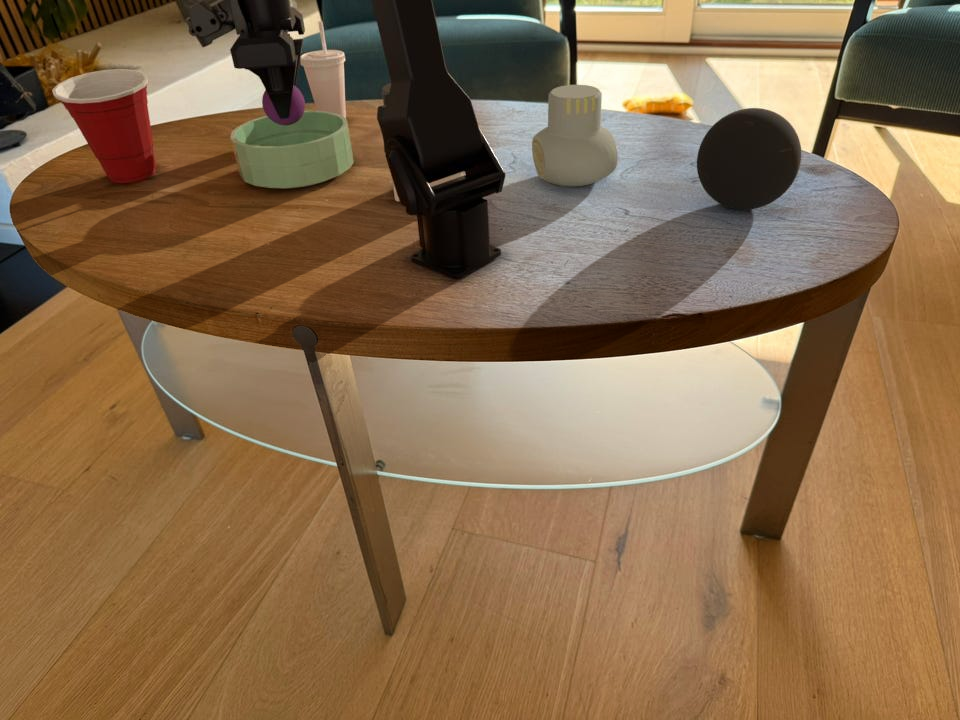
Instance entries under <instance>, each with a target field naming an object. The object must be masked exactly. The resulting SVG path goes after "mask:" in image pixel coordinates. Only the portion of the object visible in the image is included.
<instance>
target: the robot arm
mask: <svg viewBox="0 0 960 720" xmlns="http://www.w3.org/2000/svg"><path fill="white" fill-rule="evenodd" d="M290 1H291V0H216V1H214V2H211V3H210V4H209V3H207V1H205V0H200V1H199V2H196V3H195V4H192V5H190V6H189V7H188V8H187V9H188V17H187V18H186V19H185V23H186V24H187V26H188V33H189V35H190V36H192V37H195V38H196V40H197V42H198V43H199V45H200V46H201V47H202V48H205V47H208V46H209V45H212V44H213V42H214V41H215V40H217V39H218V38H220V37H223V36H224V35H226V34H229V33H230V32H232V31H234V30H235V33H236V35H237V39H236V40H235V41H234V42H233V44H232V46H231V47H230V49H229V51H230V55H231V59H232V64H233V68H234V69H237V70H240V69H244V70H245V71H247V70H248V71H249V72H251V73H253V74H254V75H256V76H257V77H258V78H259V80H260V81H261V83H262V85H263V87H264V89H265V90H266V91H267V93H268V95H269V97H270V100H271V102H272V104H273V106H274V108H275V110H276V112H277V114H278V116H279V118H280V119H286V118H289V114H290V107H291V101H292V94H293V87H294V86H296V87H297V82H298V74H299V70H300V65H301V61H300V58H301V56H302V51H303V45H304V39H303V38H293V37H292V36H291V34H290V33H291V32H292V33H293V32H297V34H298V35H299V36H303V35H305V32H306V27H305V21H304V16H303V14H302V13H301V12H300V11H299V10H297V8H295V7H294V6H291V2H290ZM371 4H372V8H373V11H374V12H373V13H374V17H375V21H376V24H377V25H376V26H377V29H378V33H379V37H380V41H381V45H382V49H383V53H384V57H385V63H386V66H387V71H388V74H389V78H390V83H391V87H390V91H389V95H388V98H387V102H386V105H384V104H383V105H379V106H378V107H377V112H376V119H377V123H378V125H379V129H380V131H381V135H382V140H383V149H384V150H383V152H384V155H385V159H386V162H387V166H388V169H389V172H390V175H391V180H392V179H393V181H392V183H393V182H394V185H395V189H396V192H397V195H398V198H399V201H400V202H399V203H400V205H401V206H402V207H405V213H406V214H407V215H409V216H416V220H417V221H416V222H417V231H418V238H419V247H420V248H421V249H420V250H418V251H416V252H414V253H412V254H411V255H410V260H411V262H413V263H416V264H417V265H420V266H423V267H425V268H427V269H430V270H432V271H434V272H437V273H439V274H442V275H444V276H446V277H449V278H450V279H454V280H458V279H461V278H463V277H465V276H467V275H469V274H471V273H472V272H473V271H475V270H477V269H479V268H481V267H483V266H484V265H486V264H487V263H490V262H491V261H493V260H495V259H498V257H500V256H501V255H502V249H501V248H499V247H497V246H494V245H491V243H490V224H489V202H488V201H489V200H488V198H487V199H486V197H488V196H491V195H494V194H500V193H502V192H503V189H504V184H505V179H506V172H505V170H504V169H503V166H502V165H501V163H500V161H499V159H498V157H497V156H496V154H495V153H494V150H493V149H492V147H491V145H490V143H489V142H488V139H486V137H485V135H484V133H483V131H482V130H481V128H480V125H479V122H478V119H477V116H476V113H475V110H474V105H473V103H472V99H471V98H470V96H469V95H468V94H467V93H466V92H465V90H464V89H463V88H462V87H461V86H460V85H459V83H458V82H457V81H456V80H455V79H454V78H453V77H452V75H451V74H450V73H449V71H448V69H447V66H446V60H445V56H444V51H443V47H442V41H441V35H440V32H439V27H438V23H437V18H436V17H437V16H436V13H435V8H434V4H433V0H371ZM460 172H462V173H463V172H464V173H465V175H462V176H461V177H458V178H456V179H453V180H450V181H447V182H444V183H441V184H438V185H435V186H432V187H430V186H429V184H428V183H431V182H434V181H437V180H440V179H443V178H446V177H449V176H451V175H454V174H457V173H460Z"/></svg>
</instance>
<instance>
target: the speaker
mask: <svg viewBox="0 0 960 720" xmlns="http://www.w3.org/2000/svg"><path fill="white" fill-rule="evenodd" d="M696 157H697V158H696V171H697V176H698V179H699V182H700V184H701V187H702V188H703V189H704V191H705V193H707V195H708V196H709V197H710V198H712V200H714V201H715V202H717V203H718V204H720V205H721V206H724V207H726V208H729V209H733V210H741V211H745V210H746V211H747V210H755V209H759V208H762V207H766V206H767V205H769V204H772V203H773V202H775V201H776V200H778V199H779V198H780V197H781V196H783V195H784V194H785V193H786V192H787V191H788V190H789V189H790V187H791V186H792V184H793V183H794V182H795V180H796V177H797V176H798V174H799V173H798V172H799V171H800V167H801V163H802V145H801V140H800V138H799V135H798V133H797V131H796V129H795V128H794V127H793V125H792V124H791V123H790V122H789V121H788V120H787V118H785V117H784V116H783V115H781V114H779V113H777V112H775V111H773V110H770V109H765V108H760V107H749V108H742V109H738V110H734V111H733V112H732V111H731V112H729V113H728V114H726V115H725V116H723V117H721V118H720V119H719V120H717V121H716V122H715V123H714V124H713V125H712V126H711V127H710V128H709V129H708V130H707V132H706V133H705V135H704V137H703V138H702V141H701V142H700V144H699V148H698V151H697V156H696Z"/></svg>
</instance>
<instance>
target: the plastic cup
mask: <svg viewBox="0 0 960 720" xmlns="http://www.w3.org/2000/svg"><path fill="white" fill-rule="evenodd" d="M148 83H149V77H148V75H147V74H146V72H143V71H140V70H137V69H126V68H115V69H102V70H95V71H91V72H85V73H83V74H78V75H76V76H72V77H69V78H67V79H65V80H62V81H61V82H58V83H57V84H56V85H55V86H54V87H53V88H52V90H51V91H52V94H53V97H54V98H55V99H56V100H59V102H60V103H61V105H63V106H64V108H65V110H67V112H68V113H69V115H70V117H71V118H72V119H73V120H74V122H75V124H76V126H77V128H78V129H79V131H80V133H81V134H82V136H83V138H84V140H85V141H86V143H87V145H88V147H89V149H90V150H91V152H92V153H93V155H94V158H96V159H97V161H98V162H99V164H100V166H101V168H102V169H103V171H104V173H105V175H106V176H107V178H109V180H110V182H112V183H115V184H131V183H132V184H133V183H137V182H142V181H143V180H147V179H149V178H151V177H152V176H154V175H155V173H157V169H156V167H157V164H156V158H155V152H154V140H153V133H152V125H151V120H150V113H149V107H148V106H149V105H148V103H149V102H148V101H149V100H148V90H147V88H148V87H147V85H148Z"/></svg>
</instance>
